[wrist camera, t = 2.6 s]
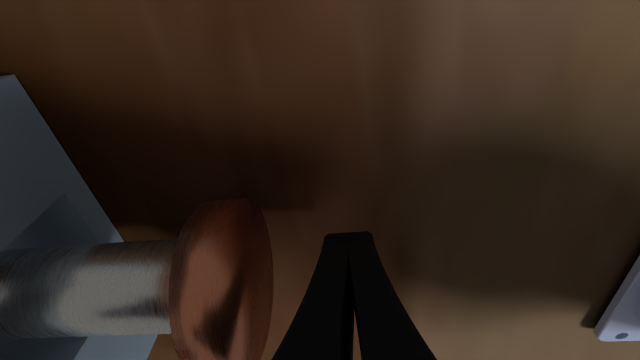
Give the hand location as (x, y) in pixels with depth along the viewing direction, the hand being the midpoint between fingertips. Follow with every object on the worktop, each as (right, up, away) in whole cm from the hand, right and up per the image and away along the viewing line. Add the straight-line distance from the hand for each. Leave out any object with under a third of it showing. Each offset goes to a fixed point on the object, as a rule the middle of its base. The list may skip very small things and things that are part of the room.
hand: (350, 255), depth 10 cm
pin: (-8, 0, +2) cm, 8 cm away
